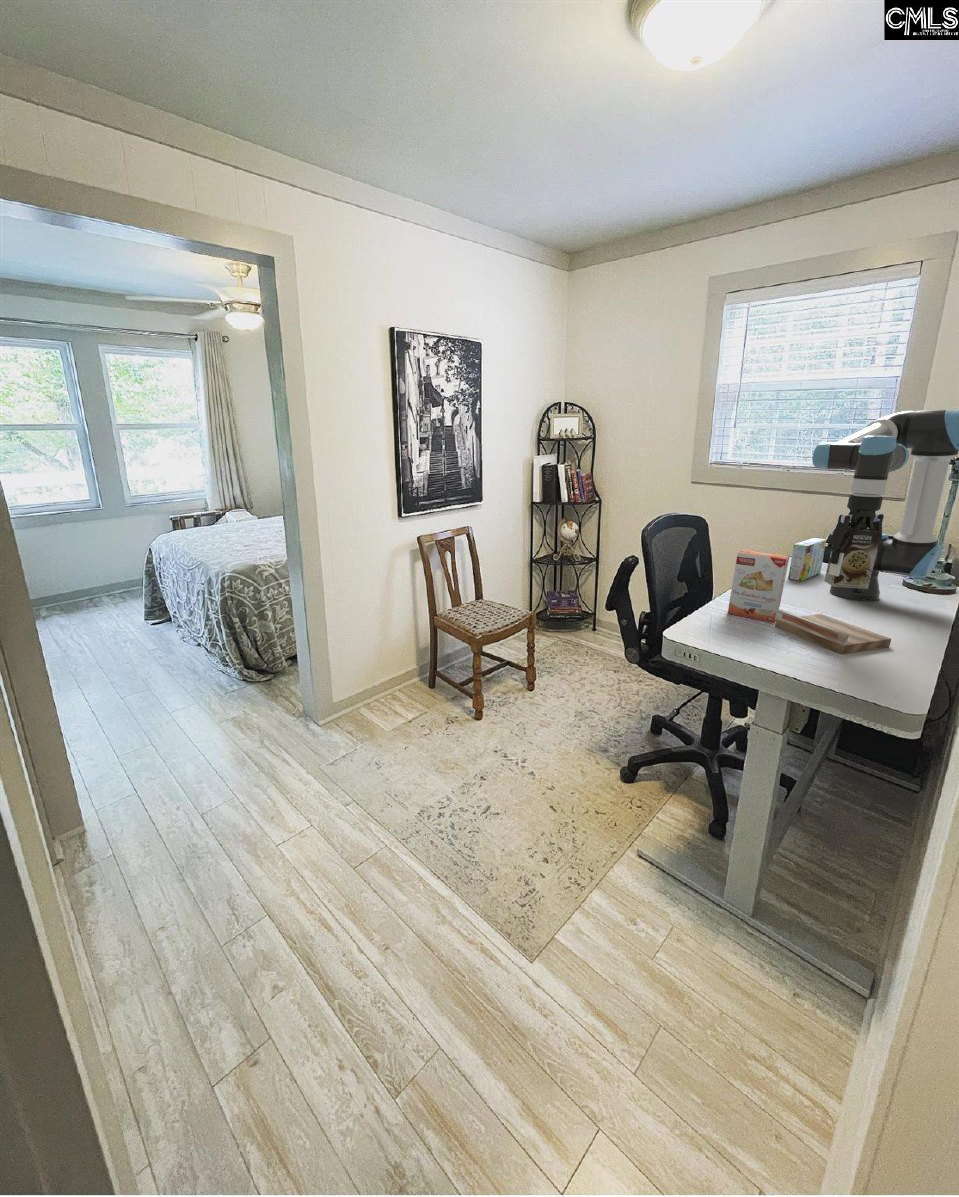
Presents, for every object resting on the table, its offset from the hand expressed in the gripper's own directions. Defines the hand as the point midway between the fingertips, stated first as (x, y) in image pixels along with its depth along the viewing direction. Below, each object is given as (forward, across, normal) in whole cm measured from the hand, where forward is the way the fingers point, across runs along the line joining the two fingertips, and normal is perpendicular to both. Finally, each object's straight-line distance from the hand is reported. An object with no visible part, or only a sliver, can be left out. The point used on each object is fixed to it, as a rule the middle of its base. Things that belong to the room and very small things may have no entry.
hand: (848, 573), depth 149 cm
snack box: (+19, -52, -57) cm, 79 cm away
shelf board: (+19, +2, 0) cm, 19 cm away
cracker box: (+19, +10, -21) cm, 30 cm away
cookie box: (+4, 0, 0) cm, 4 cm away
